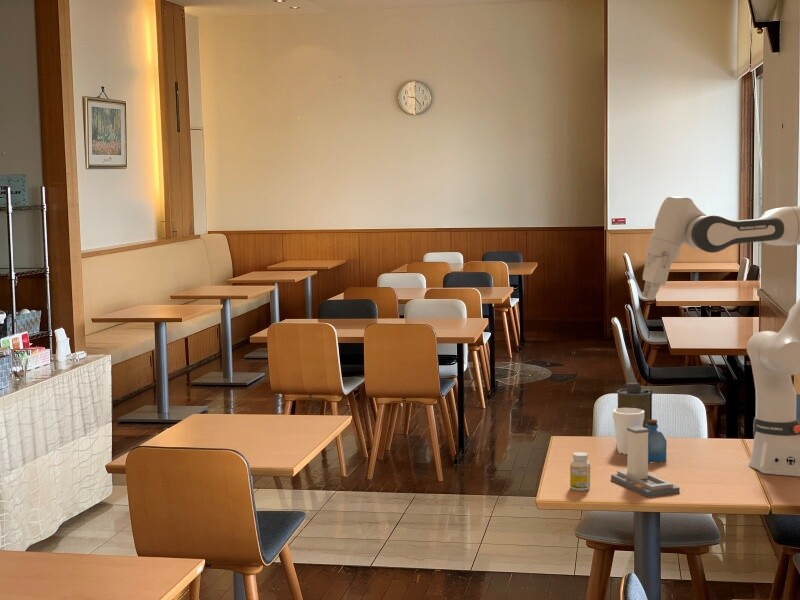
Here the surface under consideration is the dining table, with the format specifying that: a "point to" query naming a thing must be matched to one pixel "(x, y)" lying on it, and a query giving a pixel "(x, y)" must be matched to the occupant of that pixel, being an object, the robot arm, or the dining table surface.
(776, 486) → the dining table surface
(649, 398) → the canister
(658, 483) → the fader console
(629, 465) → the cream rectangular block
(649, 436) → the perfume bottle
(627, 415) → the foam cup
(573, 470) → the supplement bottle
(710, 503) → the dining table surface
